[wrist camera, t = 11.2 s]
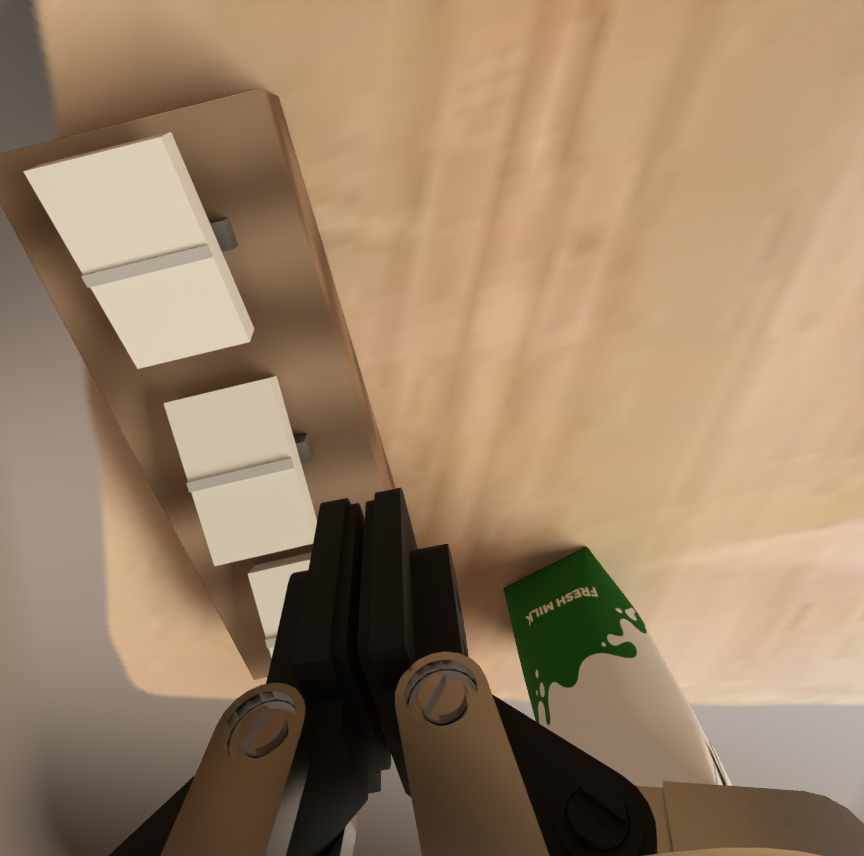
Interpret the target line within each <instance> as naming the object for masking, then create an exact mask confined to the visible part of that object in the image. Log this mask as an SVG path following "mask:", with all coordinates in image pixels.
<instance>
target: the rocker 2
mask: <svg viewBox="0 0 864 856" xmlns="http://www.w3.org/2000/svg"><path fill="white" fill-rule="evenodd" d="M164 407H165V410H166V413H167V416H168V419H169V423H170V426H171V429H172V432H173V435H174V439H175V442H176V445H177V448H178V451H179V455H180V458H181V461H182V464H183V467H184V471H185V474H186V477H187V480H188V482H187V487H188V490H189V493H190V492H191V493H192V496H193V499H194V503H195V506H196V509H197V512H198V515H199V519H200V522H201V525H202V528H203V531H204V535H205V538H206V541H207V544H208V547H209V551H210V554H211V557H212V560H213V563H214V566H218V565H222V564H227V563H231V562H235V561H240V560H244V559H248V558H253V557H257V556H261V555H266V554H270V553H274V552H279V551H283V550H287V549H292V548H296V547H300V546H305V545H309V544H313V541H314V535H315V530H316V524H317V519H316V515H315V512H314V508H313V505H312V501H311V497H310V494H309V490H308V487H307V483H306V480H305V476H304V472H303V469H302V465H301V462H300V458H299V454H298V451H297V447H296V444H295V440H294V436H293V433H292V429H291V426H290V422H289V419H288V415H287V411H286V408H285V404H284V401H283V397H282V393H281V390H280V386H279V383H278V379H277V376H275V377H270V378H266V379H262V380H258V381H254V382H249V383H245V384H241V385H237V386H233V387H229V388H224V389H220V390H216V391H212V392H208V393H203V394H199V395H195V396H191V397H187V398H183V399H178V400H174V401H170V402H166V403H164Z"/></svg>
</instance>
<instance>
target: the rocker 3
mask: <svg viewBox="0 0 864 856" xmlns="http://www.w3.org/2000/svg"><path fill="white" fill-rule="evenodd" d="M310 558H311V552H310V553H306V554H301V555H297V556H293V557H288V558H284V559H280V560H275V561H271V562H267V563H262V564H258V565H255V566H254V567H253V568H252V569H251V571H250V572H249V573H248V577H249V581H250V584H251V588H252V591H253V595H254V598H255V602H256V605H257V609H258V612H259V616H260V619H261V623H262V626H263V630H264V633H265V637H266V639H265V642H266V646H267V648H269V651H270V655H271V658H272V654H273V650H274V645H275V641H276V636H277V631H278V627H279V622H280V618H281V613H282V608H283V604H284V599H285V595H286V590H287V585H288V581H289V578H290V576H291V574H292V573H295V572H300V571H305V570H308V569H309V563H310Z"/></svg>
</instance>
